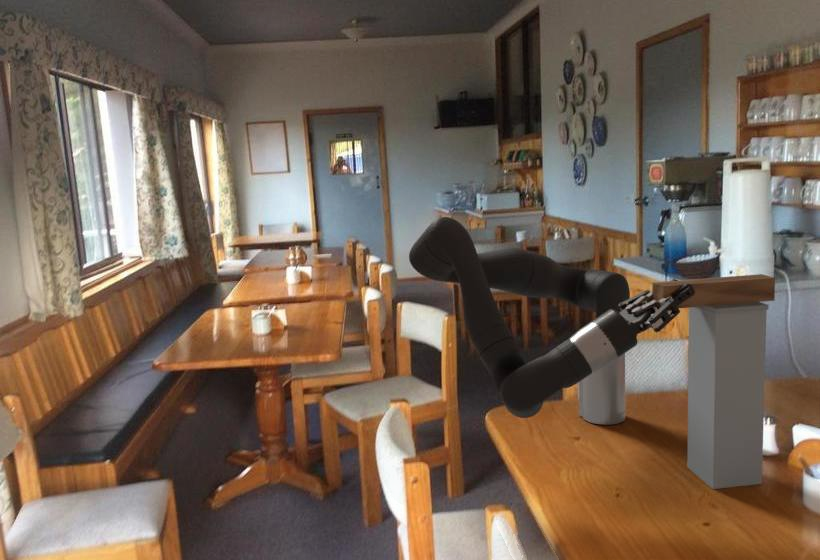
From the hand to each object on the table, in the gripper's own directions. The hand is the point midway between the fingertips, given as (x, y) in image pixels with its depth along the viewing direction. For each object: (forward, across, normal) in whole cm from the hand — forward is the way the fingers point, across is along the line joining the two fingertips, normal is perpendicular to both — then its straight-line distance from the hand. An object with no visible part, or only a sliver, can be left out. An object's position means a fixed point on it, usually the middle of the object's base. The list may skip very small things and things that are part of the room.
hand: (684, 285), depth 123 cm
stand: (-11, 0, +34) cm, 36 cm away
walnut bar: (+3, 0, +6) cm, 6 cm away
